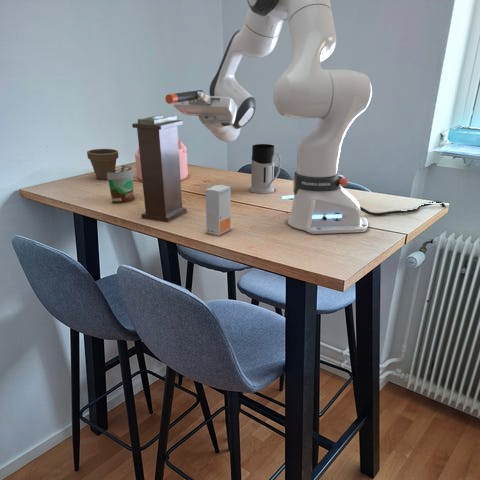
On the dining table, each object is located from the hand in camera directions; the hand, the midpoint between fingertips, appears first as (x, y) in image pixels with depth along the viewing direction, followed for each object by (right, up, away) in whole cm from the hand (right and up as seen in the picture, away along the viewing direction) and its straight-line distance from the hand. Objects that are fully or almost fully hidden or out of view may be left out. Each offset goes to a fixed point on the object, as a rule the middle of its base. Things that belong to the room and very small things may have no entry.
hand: (193, 93), depth 142 cm
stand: (-9, -37, -1) cm, 38 cm away
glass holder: (+24, -24, +22) cm, 40 cm away
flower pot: (-38, -14, +40) cm, 57 cm away
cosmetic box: (+8, -45, -14) cm, 48 cm away
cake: (-16, -13, +42) cm, 46 cm away
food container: (-23, -29, +13) cm, 40 cm away
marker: (-2, -3, -4) cm, 5 cm away
